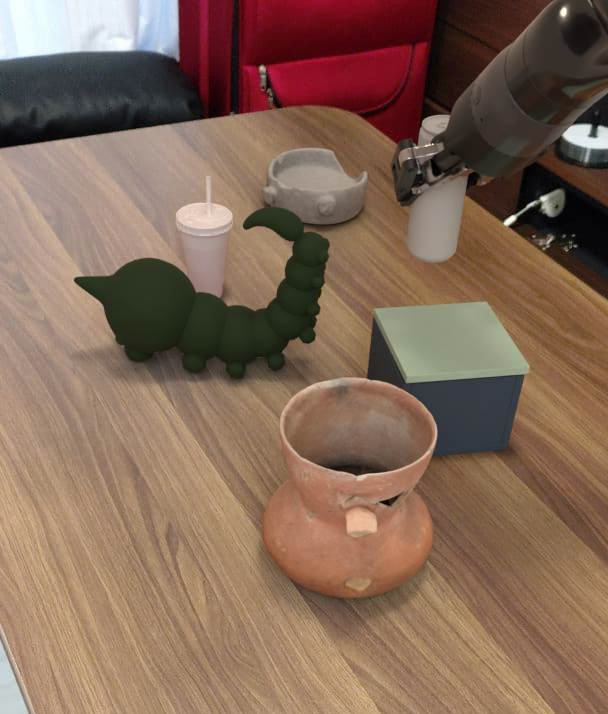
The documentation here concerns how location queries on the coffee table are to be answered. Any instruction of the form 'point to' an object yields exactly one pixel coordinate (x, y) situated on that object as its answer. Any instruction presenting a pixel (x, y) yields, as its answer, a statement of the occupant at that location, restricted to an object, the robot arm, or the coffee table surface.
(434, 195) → the beverage can
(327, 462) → the ceramic jug
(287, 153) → the dish
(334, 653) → the coffee table surface
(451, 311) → the lid
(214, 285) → the smoothie
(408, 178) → the robot arm
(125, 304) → the toy figurine
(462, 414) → the box
